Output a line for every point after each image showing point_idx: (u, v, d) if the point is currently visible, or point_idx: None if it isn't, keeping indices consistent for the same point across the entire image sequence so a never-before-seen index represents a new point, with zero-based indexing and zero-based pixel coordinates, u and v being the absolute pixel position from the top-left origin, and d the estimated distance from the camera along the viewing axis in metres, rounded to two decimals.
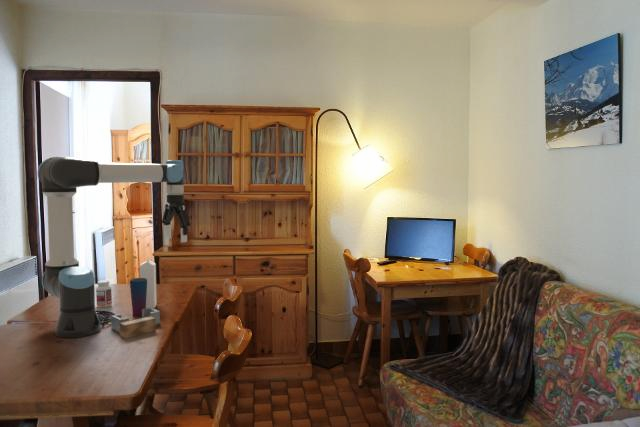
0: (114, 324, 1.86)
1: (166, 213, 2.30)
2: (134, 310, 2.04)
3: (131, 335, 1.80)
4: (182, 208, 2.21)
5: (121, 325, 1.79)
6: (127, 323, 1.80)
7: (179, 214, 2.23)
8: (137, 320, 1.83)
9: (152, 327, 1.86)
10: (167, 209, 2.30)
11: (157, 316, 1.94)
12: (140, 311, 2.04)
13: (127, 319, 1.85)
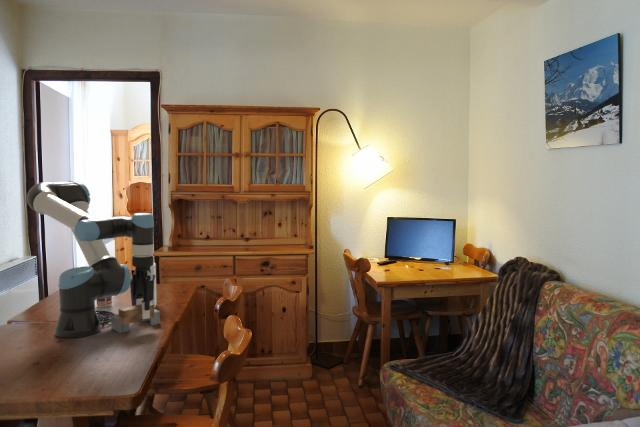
0: (114, 324, 1.86)
1: (135, 281, 1.87)
2: None
3: (130, 321, 1.80)
4: (149, 279, 1.79)
5: (120, 311, 1.79)
6: (126, 309, 1.79)
7: (145, 283, 1.82)
8: (136, 306, 1.83)
9: (151, 314, 1.86)
10: (135, 275, 1.87)
11: (157, 316, 1.94)
12: None
13: None
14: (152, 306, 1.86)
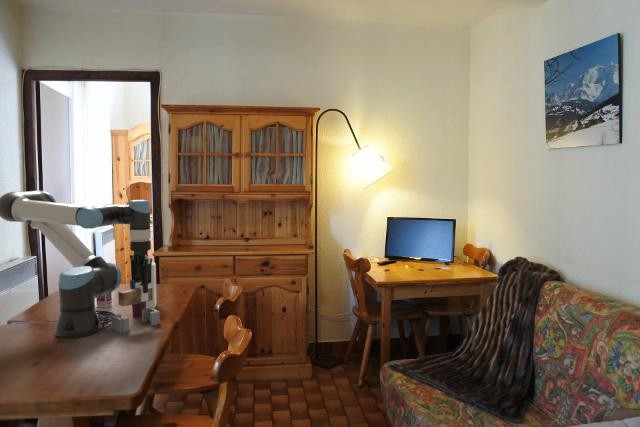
0: (114, 324, 1.86)
1: (133, 265, 1.94)
2: (134, 310, 2.04)
3: (129, 303, 1.87)
4: (147, 262, 1.87)
5: (120, 293, 1.87)
6: (125, 291, 1.87)
7: (142, 267, 1.90)
8: (135, 289, 1.91)
9: (149, 296, 1.93)
10: (133, 260, 1.94)
11: (157, 316, 1.94)
12: (140, 311, 2.04)
13: (127, 319, 1.85)
14: (150, 289, 1.94)
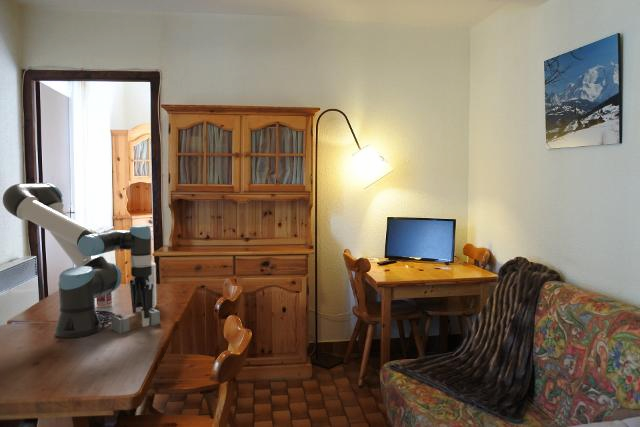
0: (114, 324, 1.86)
1: (134, 290, 1.95)
2: (134, 310, 2.04)
3: (130, 327, 1.88)
4: (148, 288, 1.88)
5: None
6: (126, 316, 1.88)
7: (144, 292, 1.90)
8: (136, 313, 1.92)
9: None
10: (134, 285, 1.95)
11: (157, 316, 1.94)
12: None
13: (127, 319, 1.85)
14: None
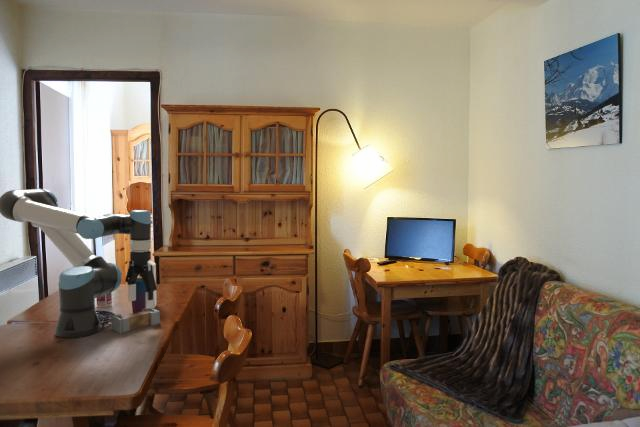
0: (114, 324, 1.86)
1: (130, 271, 1.96)
2: (134, 310, 2.04)
3: (130, 328, 1.88)
4: (147, 268, 1.87)
5: None
6: (126, 316, 1.88)
7: (144, 275, 1.89)
8: (136, 314, 1.91)
9: None
10: (131, 266, 1.95)
11: (157, 316, 1.94)
12: (140, 311, 2.04)
13: (127, 319, 1.85)
14: None
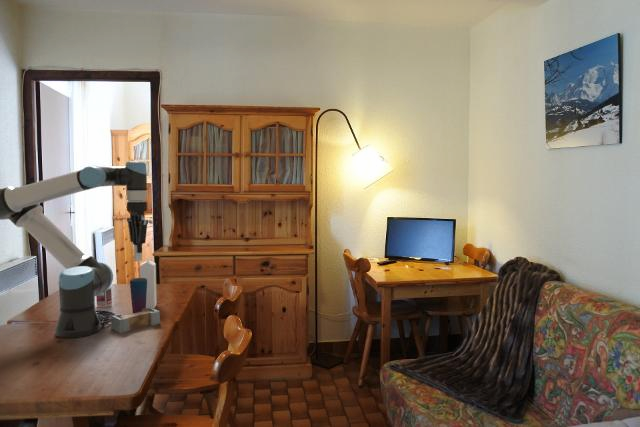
0: (114, 324, 1.86)
1: (131, 227, 1.97)
2: (134, 310, 2.04)
3: (130, 328, 1.88)
4: (143, 224, 1.90)
5: None
6: (126, 316, 1.88)
7: (138, 227, 1.93)
8: (136, 314, 1.91)
9: None
10: (130, 222, 1.97)
11: (157, 316, 1.94)
12: (140, 311, 2.04)
13: (127, 319, 1.85)
14: None
